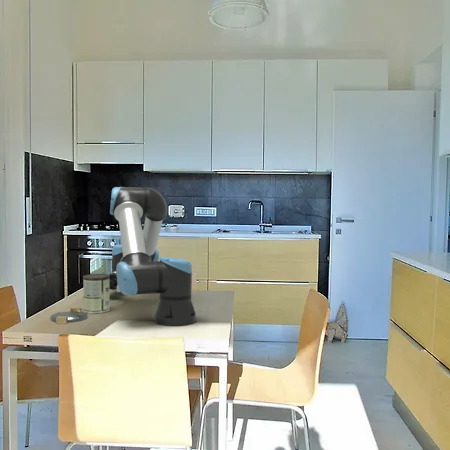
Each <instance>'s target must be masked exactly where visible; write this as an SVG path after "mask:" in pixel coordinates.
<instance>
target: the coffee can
mask: <svg viewBox="0 0 450 450" xmlns="http://www.w3.org/2000/svg"><path fill="white" fill-rule="evenodd" d="M109 277H110V275H109V274H107V273H90V274H85V275H83V276H82V279H83V283H82V284H83V310H82V312H85V313H87V314H102V313H107V312H109V311H110V305H111V304H110V302H111V301H110V289H109V288H110V287H109Z"/></svg>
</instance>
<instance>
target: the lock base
mask: <svg viewBox="0 0 450 450" xmlns="http://www.w3.org/2000/svg"><path fill="white" fill-rule="evenodd" d="M86 319H88V313H86V312H84V311H82V307H79V306H77V307H73V306H72V307H70V311H61V312H57V313H56V312H55V313H53V314H51V315H50V322H55V324H59V325H60V324H63V325H65V324H68V323H75V322H76V323H77V322H81V321H84V320H86Z"/></svg>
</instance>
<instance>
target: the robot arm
mask: <svg viewBox="0 0 450 450" xmlns="http://www.w3.org/2000/svg"><path fill="white" fill-rule="evenodd" d="M110 198H111V199H110V208H109V214H110V215H112V216H114V218H115V220H116V221H118V224H119V226H118V227H119V234H120V241H121V244H114V245H113V246H112V250H111V251H112V254H111V258H112V259H111V265H112V266H111V267H112V268H111V273H109V274H108V275H110V277H109V287H110V288H109V290H110V291H115V290H116V293H121V294H123V295H125V296H126V295H127V296H128V295H129V296H130V295H131V296H137V295H153V294H159V301H158V304H157V308H156V311H155V314H154V322H155V323H156V324H159V325H162V326H163V325H164V326H170V327H171V326H187V325H192V324H193V323H196V321H197V313H196V310H195V307H194V304H193V301H192V294H193V293H192V285H193V284H192V282H193V281H192V280H193V279H192V278H193V276H192V275H193V269H192V263H191V261H190V260H188V259H184V258H180V257H170V256H161V257H160V252H159V249H158V248H157V246H158V240H159V237H160V232H161V228H162V224H163V221H164V220H165V219H166V218H167V213H168V205H167V202H166V200H165V197H163V196H162V194H161V193H160V192H159V191H158V190H156V189H154V188H152V187H135V186H133V187H132V186H127V187H126V186H119V187H118V186H115V187H113V188H112V190H111V197H110ZM143 216H145V220H144V226H143V225H142V220H141V218H142V217H143Z"/></svg>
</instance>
